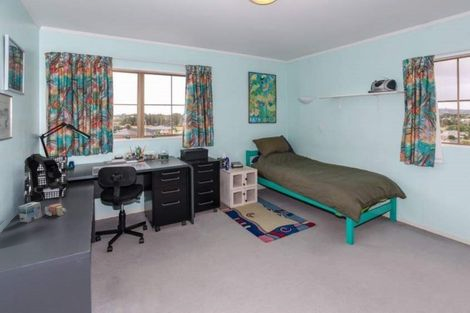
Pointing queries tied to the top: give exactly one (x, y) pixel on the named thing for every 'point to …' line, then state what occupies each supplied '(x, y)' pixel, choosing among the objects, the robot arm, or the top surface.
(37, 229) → the top surface
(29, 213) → the light bulb box
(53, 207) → the tethered block
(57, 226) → the top surface
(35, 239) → the top surface
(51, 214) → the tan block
